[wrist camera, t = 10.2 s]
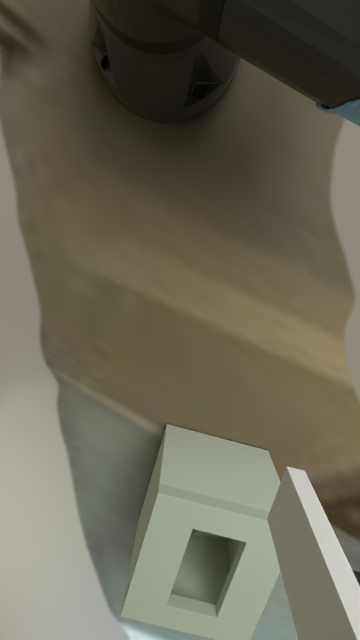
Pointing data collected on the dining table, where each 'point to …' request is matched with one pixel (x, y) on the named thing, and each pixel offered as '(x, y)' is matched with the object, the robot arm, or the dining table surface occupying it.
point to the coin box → (204, 538)
